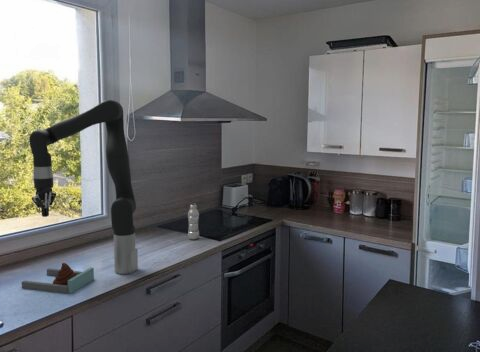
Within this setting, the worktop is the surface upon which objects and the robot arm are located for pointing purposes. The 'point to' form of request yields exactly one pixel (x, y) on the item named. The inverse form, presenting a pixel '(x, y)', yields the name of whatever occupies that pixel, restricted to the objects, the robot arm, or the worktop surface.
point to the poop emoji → (64, 275)
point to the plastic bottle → (193, 222)
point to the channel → (73, 285)
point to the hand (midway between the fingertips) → (45, 216)
